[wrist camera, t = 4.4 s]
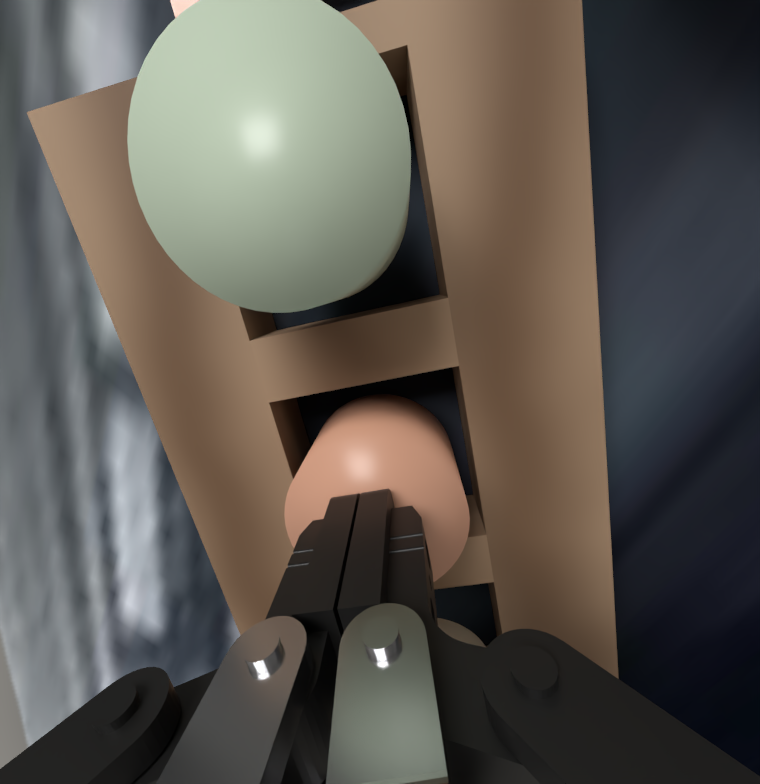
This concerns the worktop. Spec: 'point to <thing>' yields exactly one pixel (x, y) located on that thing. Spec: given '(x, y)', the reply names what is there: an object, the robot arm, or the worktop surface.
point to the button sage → (271, 152)
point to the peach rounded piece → (385, 471)
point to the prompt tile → (181, 5)
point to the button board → (398, 319)
